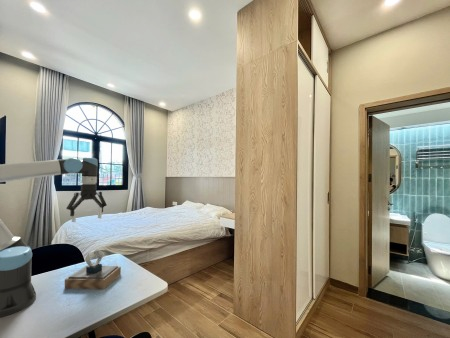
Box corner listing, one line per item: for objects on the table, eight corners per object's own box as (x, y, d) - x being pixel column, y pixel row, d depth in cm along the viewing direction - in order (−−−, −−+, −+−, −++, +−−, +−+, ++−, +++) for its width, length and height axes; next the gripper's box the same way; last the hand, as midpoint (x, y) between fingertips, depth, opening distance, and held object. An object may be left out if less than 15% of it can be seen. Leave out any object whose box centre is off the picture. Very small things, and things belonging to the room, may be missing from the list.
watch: (105, 268, 106) (105, 247, 106) (91, 275, 98) (91, 253, 98) (96, 267, 107) (97, 247, 107) (82, 274, 99) (83, 252, 100)
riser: (64, 288, 96) (64, 277, 96) (86, 274, 110) (86, 264, 110) (103, 289, 95) (104, 278, 95) (120, 274, 109) (120, 265, 109)
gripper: (66, 184, 103) (64, 224, 102) (113, 183, 124) (112, 217, 123) (60, 183, 107) (58, 223, 105) (107, 183, 128) (105, 216, 127)
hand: (87, 220), depth 114 cm, fingers open, 13 cm apart
